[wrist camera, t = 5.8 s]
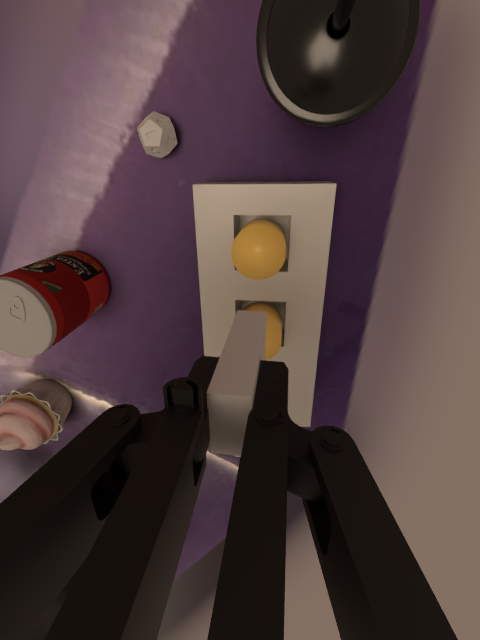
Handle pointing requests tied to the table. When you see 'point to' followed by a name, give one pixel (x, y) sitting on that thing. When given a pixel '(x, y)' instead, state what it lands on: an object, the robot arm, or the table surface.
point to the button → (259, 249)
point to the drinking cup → (334, 55)
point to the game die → (157, 135)
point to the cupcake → (33, 415)
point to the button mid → (269, 327)
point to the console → (282, 288)
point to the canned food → (49, 301)
